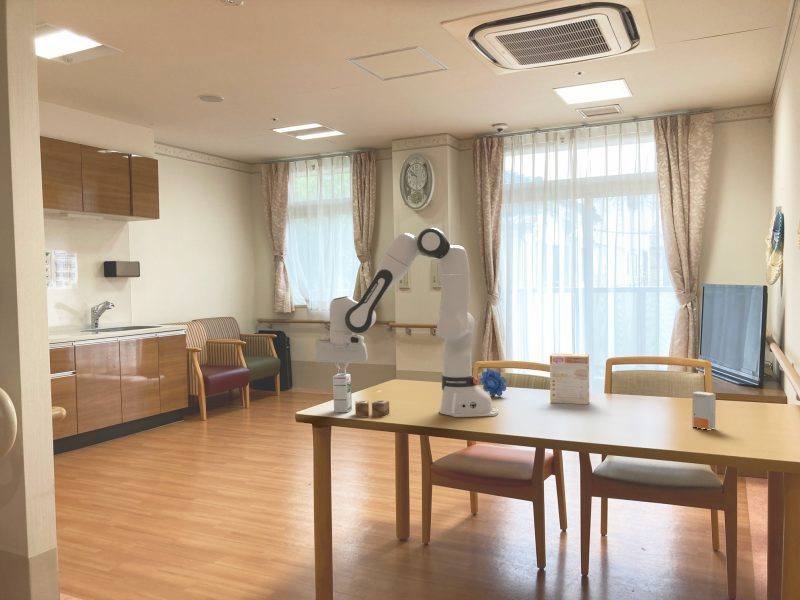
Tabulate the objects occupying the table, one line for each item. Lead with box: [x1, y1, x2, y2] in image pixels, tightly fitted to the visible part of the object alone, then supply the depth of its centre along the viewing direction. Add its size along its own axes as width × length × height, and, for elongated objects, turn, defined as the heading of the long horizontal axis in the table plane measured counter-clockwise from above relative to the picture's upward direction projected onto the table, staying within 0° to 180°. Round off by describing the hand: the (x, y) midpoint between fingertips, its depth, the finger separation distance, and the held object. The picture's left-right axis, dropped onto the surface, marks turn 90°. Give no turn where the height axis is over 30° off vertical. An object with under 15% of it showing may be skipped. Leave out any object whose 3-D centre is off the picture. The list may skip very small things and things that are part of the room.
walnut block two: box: [371, 400, 390, 417], centre depth 247 cm, size 5×5×5 cm
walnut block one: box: [354, 400, 370, 417], centre depth 247 cm, size 5×5×5 cm
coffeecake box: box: [549, 353, 590, 405], centre depth 265 cm, size 15×7×20 cm, turn 69°
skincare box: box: [691, 391, 717, 429], centre depth 218 cm, size 6×4×12 cm
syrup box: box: [332, 373, 353, 413], centre depth 255 cm, size 6×6×14 cm
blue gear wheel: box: [479, 368, 507, 397], centre depth 280 cm, size 12×7×12 cm, turn 64°
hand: (341, 373), depth 254 cm, fingers closed
